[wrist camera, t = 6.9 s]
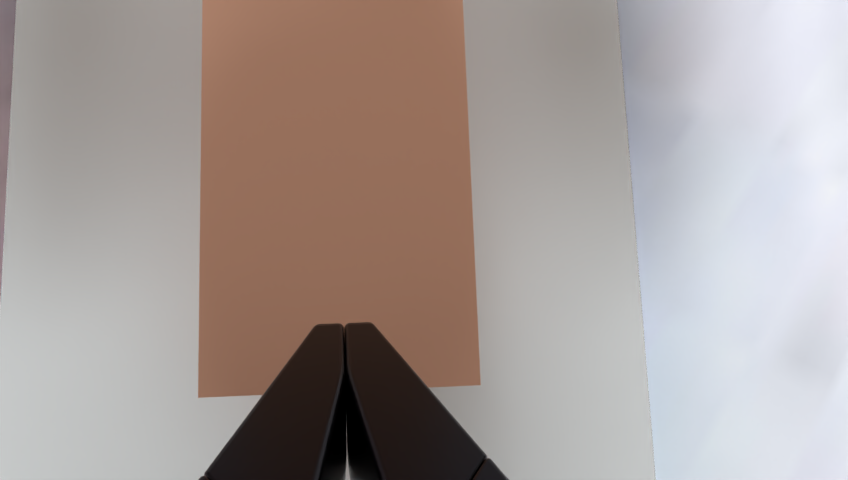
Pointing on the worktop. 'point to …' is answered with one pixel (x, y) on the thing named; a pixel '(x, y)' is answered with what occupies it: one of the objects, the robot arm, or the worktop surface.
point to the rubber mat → (180, 247)
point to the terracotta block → (334, 185)
